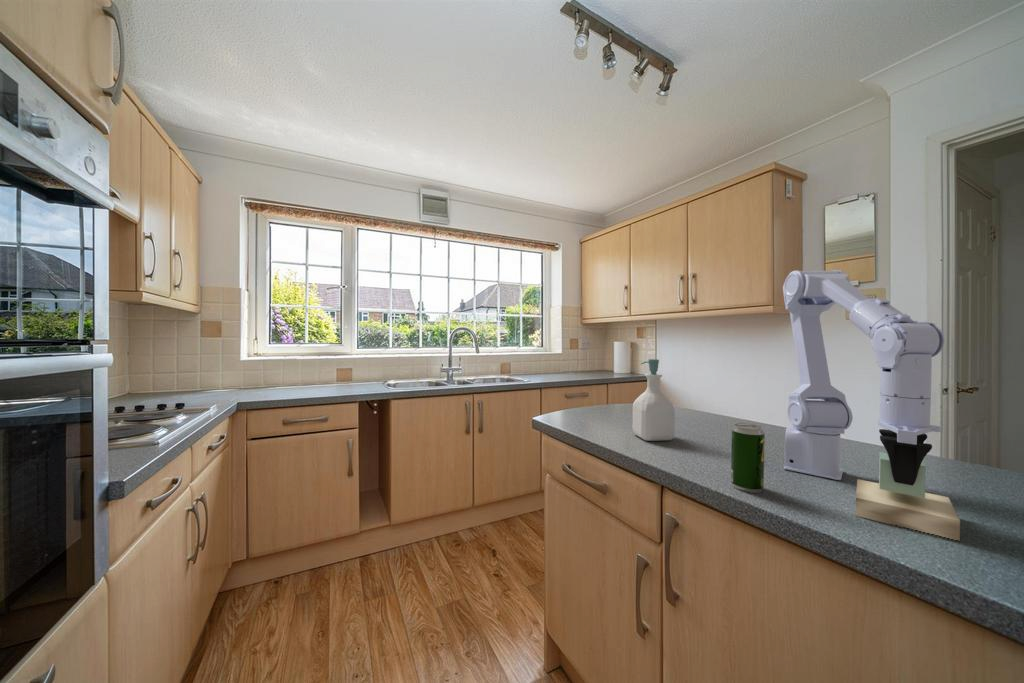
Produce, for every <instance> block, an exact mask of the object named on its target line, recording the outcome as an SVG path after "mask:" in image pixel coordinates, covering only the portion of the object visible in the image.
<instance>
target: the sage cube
mask: <svg viewBox="0 0 1024 683" xmlns="http://www.w3.org/2000/svg"><path fill="white" fill-rule="evenodd" d="M878 467H879V468H878V470H879V473H878V477H879V478H878V483H879V486H880V489H882V490H887V491H892V492H897V493H902V494H907V495H912V496H916V497H921V498H925V493H926V471H927V470H926V469H927V468H926V464H925V461H924V460H923V461H922V463H921V465H920V468H919V471H918V475H917V478H916V481H915V483H914V485H907V484H902V483H897V482H895V481H894V479H893V475H892V470H891V465H890V460H889V456H888V453H887V452H881V451H880V452H879V464H878Z"/></svg>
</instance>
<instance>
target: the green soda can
mask: <svg viewBox="0 0 1024 683" xmlns="http://www.w3.org/2000/svg"><path fill="white" fill-rule="evenodd" d="M765 438H766V435H765V431H764V427H763V426H760V425H758V424H753V423H746V422H745V423H744V422H742V423H741V422H737V423H736V422H735V423H733V424H732V428H731V448H730V450H731V453H730V455H731V456H730V458H731V459H730V463H731V464H730V466H731V467H730V483H731V485H732V487H733V488H735V489H737V490H739V491H741V492H745V493H752V494H754V493H755V494H759V493H761V492H762V491H763V489H764V487H765V485H764V484H765V441H766V440H765Z"/></svg>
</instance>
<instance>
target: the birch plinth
mask: <svg viewBox="0 0 1024 683" xmlns="http://www.w3.org/2000/svg"><path fill="white" fill-rule="evenodd" d="M855 492H856V493H855V517H859V518H860V517H861V518H864V519H868V520H872V521H876V522H878V523H879V522H880V523H883V524H884V523H885V524H888V525H891V524H892V525H891V526H895V525H898V526H897V527H899V526H902V527H901V528H903V527H906V528H905V529H907V528H910V529H909V530H911V529H914V530H913V531H915V530H918V531H917V532H919V531H921V532H920V533H923V532H925V533H924V534H927V533H930V534H929V535H931V534H935V535H939V536H942V537H941V538H943V537H946V538H945V539H947V538H950V539H949V540H951V539H954V540H953V541H955V540H959V541H960V542H961V540H960V539H961V538H960V537H961V520H960V518H959V516H958V514H957V512H956V510H955V507H954V506H953V503H952V502H951V500H950V498H949V497H948V496H944V495H940V494H939V495H938V494H934V493H929V492H925V498H921V497H916V496H912V495H907V494H902V493H897V492H892V491H887V490H882V489H880V486H879V482H873V481H870V480H869V481H867V480H864V479H858V478H857V480H856V491H855ZM935 535H934V536H935ZM939 536H938V537H939ZM959 541H958V542H959Z"/></svg>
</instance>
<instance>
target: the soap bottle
mask: <svg viewBox="0 0 1024 683" xmlns="http://www.w3.org/2000/svg"><path fill="white" fill-rule="evenodd" d="M659 361H660V360H659V359H657V358H649V359H648V360H647V361H644V362H641V363H640V365H645V364H648V368H649V372H650V373H645V374H644V376H645V377H646V380H647V384H646V385H647V387H646V389H645V391H644V392H643V393H641V394H640V395H639V396H638V397H637V398H636V399H635V400H634V401H633V404H632V432H633V434H634V435H635V436H638V437H639V438H640V439H642V440H644V441H648V442H656V441H657V442H659V441H665V442H666V441H672V440H673V439H674V437H675V421H676V420H675V417H676V415H675V414H676V413H675V412H676V411H675V407H674V405H673V403H672V401H671V400H670V399H669V397H668V396H667V395H666V394H665V393H663V392H662V390H661V388H660V383H661V382H660V381H661V377H663V374H661V373H658V369H659V363H660V362H659Z"/></svg>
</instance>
